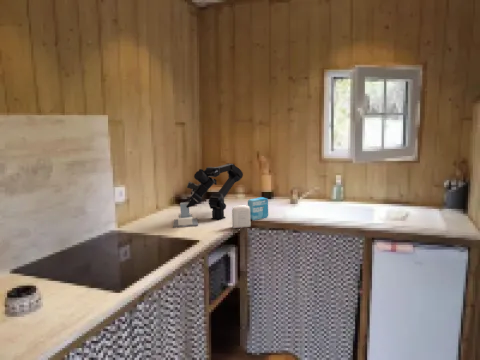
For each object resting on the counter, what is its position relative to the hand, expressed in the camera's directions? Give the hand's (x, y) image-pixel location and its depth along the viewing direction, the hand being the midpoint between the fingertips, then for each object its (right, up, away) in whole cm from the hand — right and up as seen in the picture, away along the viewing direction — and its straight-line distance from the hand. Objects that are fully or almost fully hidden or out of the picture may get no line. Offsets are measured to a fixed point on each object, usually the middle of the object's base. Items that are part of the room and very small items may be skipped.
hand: (186, 205), depth 224 cm
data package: (+42, -8, +8) cm, 44 cm away
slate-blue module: (-1, -10, +1) cm, 10 cm away
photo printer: (+32, -12, -10) cm, 35 cm away
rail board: (-1, -11, +1) cm, 11 cm away
